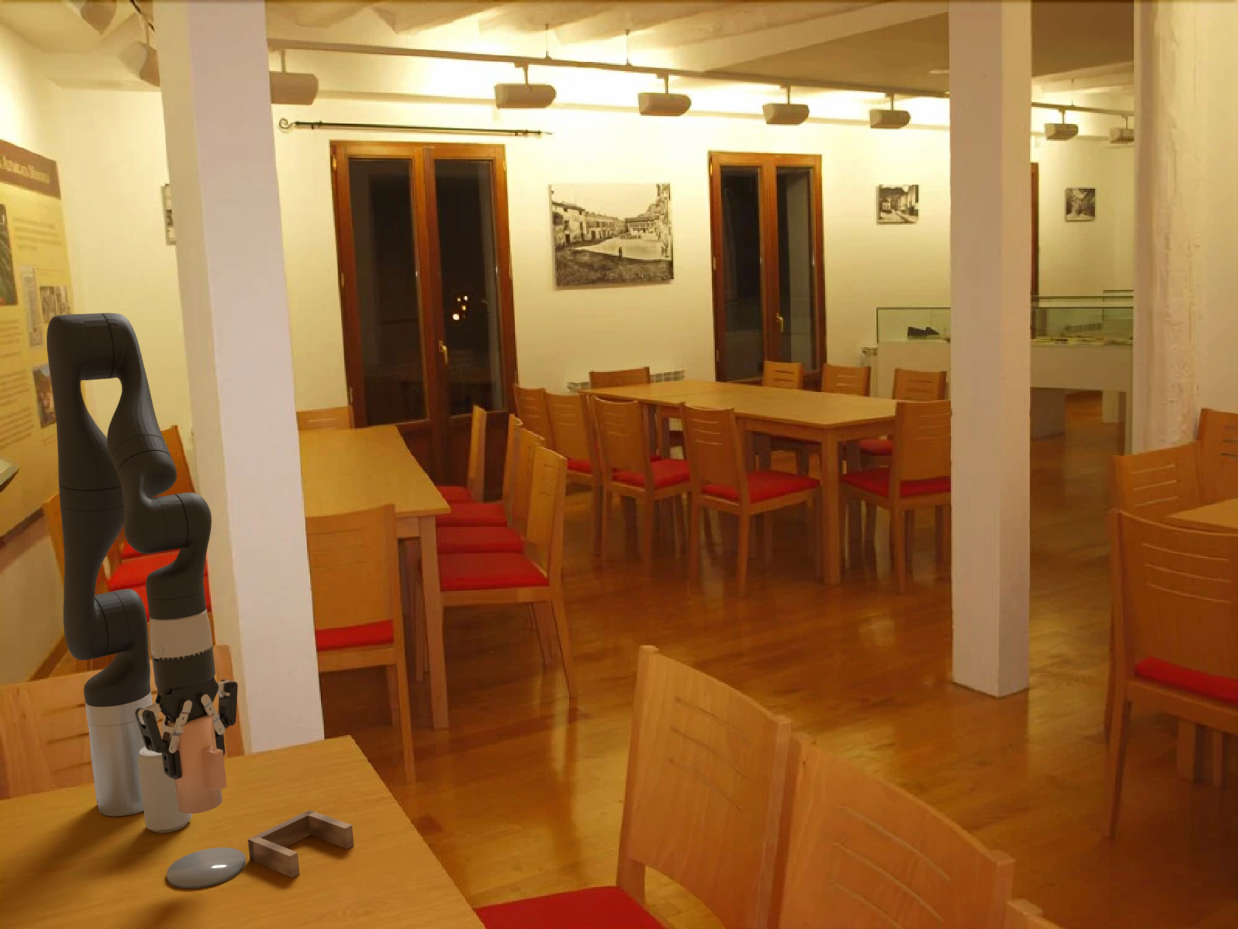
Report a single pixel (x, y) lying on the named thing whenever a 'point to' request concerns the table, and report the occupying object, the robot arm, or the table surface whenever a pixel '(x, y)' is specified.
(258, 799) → the table surface
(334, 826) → the wooden u-shaped frame
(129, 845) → the table surface
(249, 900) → the table surface
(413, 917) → the table surface
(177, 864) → the grey dome disc
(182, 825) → the beverage can
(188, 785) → the peach cylinder with handle
